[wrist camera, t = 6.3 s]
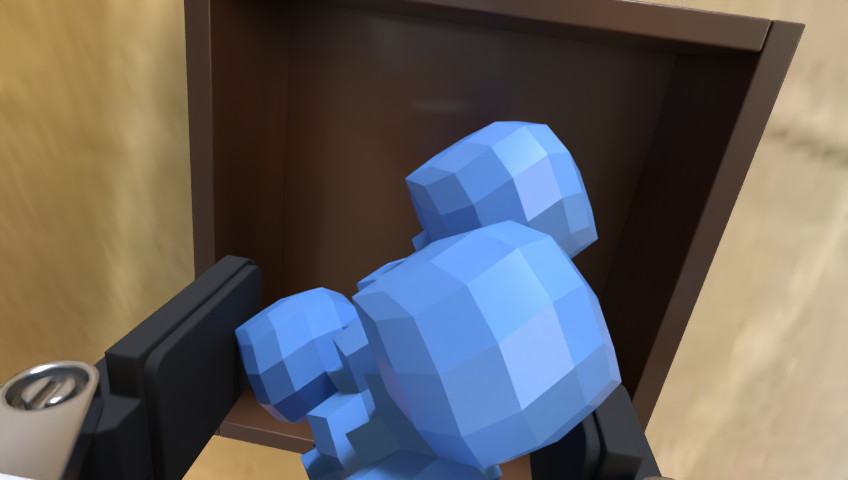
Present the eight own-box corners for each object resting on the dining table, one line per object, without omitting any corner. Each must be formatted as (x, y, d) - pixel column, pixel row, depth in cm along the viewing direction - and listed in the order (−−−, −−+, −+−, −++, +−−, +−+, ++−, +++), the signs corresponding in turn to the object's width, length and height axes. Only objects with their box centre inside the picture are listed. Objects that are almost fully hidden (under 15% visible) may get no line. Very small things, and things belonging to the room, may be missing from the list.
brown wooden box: (268, 344, 26) (200, 432, 20) (277, -25, 19) (180, -63, 13) (580, 407, 24) (610, 521, 18) (701, 35, 18) (807, 24, 12)
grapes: (363, 42, 13) (-247, 7, 2) (597, 115, 13) (1159, 448, 2) (293, 369, 18) (-26, 897, 7) (467, 423, 18) (436, 1044, 7)
